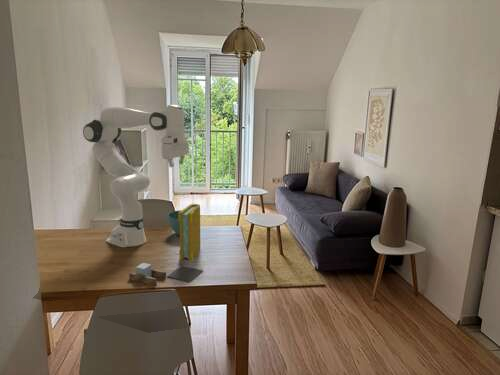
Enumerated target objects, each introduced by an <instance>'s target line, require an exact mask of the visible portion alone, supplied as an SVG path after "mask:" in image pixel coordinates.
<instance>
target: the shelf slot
mask: <svg viewBox="0 0 500 375" xmlns="http://www.w3.org/2000/svg"><path fill="white" fill-rule="evenodd" d="M151 271H152V277H148V276H144V275H140V274H136V273H135V272H129V273H128V275H129V276H128V277H129V280H132V281H135V282H139V283H143V284H147V285H151V286H155V287H156V286H157V285H158V284H157V278H160V279H164V280H165V279H166V278H167V271H163V270H158V269H155V268H151ZM155 277H156V278H155Z"/></svg>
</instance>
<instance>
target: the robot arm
mask: <svg viewBox="0 0 500 375" xmlns="http://www.w3.org/2000/svg"><path fill="white" fill-rule="evenodd" d="M185 118H186V117H185V111H184V108H183V107H182V106H180V105H178V104H167V106H166V107H164V108H163V109H160V110H157V111H154V112H148V111H147V112H146V111H143V110H137V109H134V108H130V107H129V108H128V107H123V106H111V107H110V106H109V107H105V108H103V110H101V112H100V118H99V119H93V120H92V121H90V122H88V123H87V124H85V125H84V127H83V129H82V136H83V137H84V139H85V140H86V141H87V142H90V143H93V146H92V148H91V149H92V154H93V155H94V157H95V158H96V159H97V162H99V164H100V165H101V166H102V168H104V170H105V171H106V173H107V174H109V176H112V177H115V179H112V181H111V182H110V184H109V191H110V192H111V194H112V195H113V196H114V197H116V199H117V200H118V202H119V205H120V208H121V209H120V211H121V217H120V218H119V219H118V221H117V222H119V224H118V225H116V226H115V227H114V228H113V229H111V232H110V236H109V237H108V238H107V239H106V241H105V242H106V243H109V244H111V245H114V246H117V247H120V248H127V247H138V246H141V245H144V244H145V243H147V237H146V234H145V230H144V225H145V223H144V216H143V204H142V203H141V202H140V201H139V200H138V199H137V197H136V194H137V193H141V192H143V191H145V190H146V189H147V188H149V186H150V182H151V181H150V177H149V176H148V175H147V174H146V173H145V172H142V171H140V170H137V168H134V167H133V166H131V165H130V164H129V163H128V162H126V160H125V159H124V158H123V157H122V156H121V154H119V152H118V151H117V149H115V148H114V147H115V146H114V145H113V144H116V142H117V141H118V139H119V138H120V136H121V134H122V129H131V128H137V127H141V126H142V127H143V126H146V125H147V126H150V127H151V129H152V130H154V131H158V132H160V131H166V134H165V136H163V137H162V138H161V140H160V141H161V143H162V144H161V156H162V158H163V160H167V162H168V166H169V168H174V167H175V164H174V162H173V159H175V158H179V160H178V165H183V164H184V160H185V156H186V155H189V153H190V149H189V142H188V139H187V138H186V131H185V123H186V122H185Z"/></svg>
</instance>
